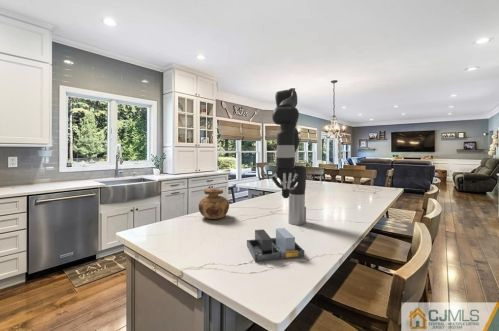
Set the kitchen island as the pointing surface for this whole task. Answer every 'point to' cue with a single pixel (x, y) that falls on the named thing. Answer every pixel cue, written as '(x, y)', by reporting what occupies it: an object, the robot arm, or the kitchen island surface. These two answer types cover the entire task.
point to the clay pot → (213, 204)
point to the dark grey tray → (270, 248)
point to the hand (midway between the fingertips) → (285, 197)
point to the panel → (285, 240)
